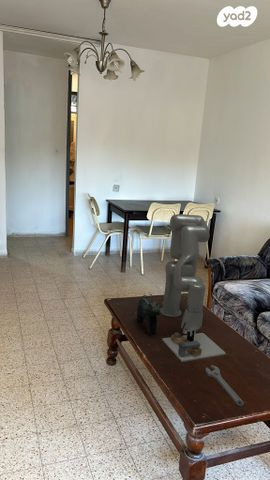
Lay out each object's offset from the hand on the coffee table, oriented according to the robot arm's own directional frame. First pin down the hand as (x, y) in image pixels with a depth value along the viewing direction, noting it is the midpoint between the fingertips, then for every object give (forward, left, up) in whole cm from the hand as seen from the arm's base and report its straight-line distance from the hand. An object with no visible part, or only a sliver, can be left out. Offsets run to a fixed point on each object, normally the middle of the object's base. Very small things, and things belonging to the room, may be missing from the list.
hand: (189, 341), depth 177 cm
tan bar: (+2, -3, -1) cm, 4 cm away
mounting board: (+2, +1, -2) cm, 3 cm away
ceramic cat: (-22, -14, -2) cm, 26 cm away
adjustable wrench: (+31, -3, -3) cm, 31 cm away
